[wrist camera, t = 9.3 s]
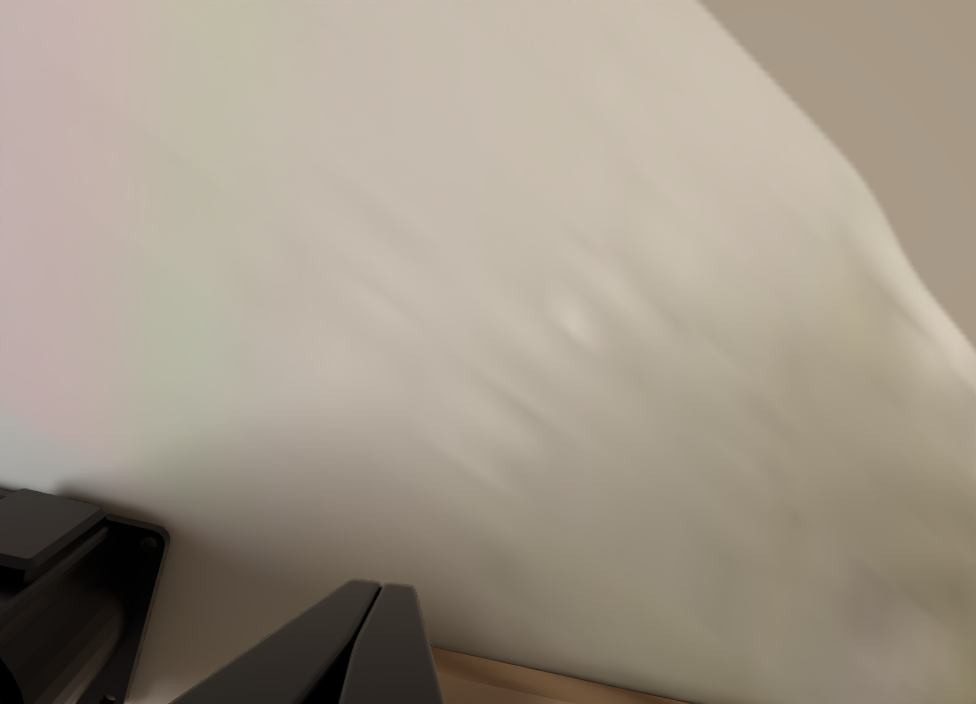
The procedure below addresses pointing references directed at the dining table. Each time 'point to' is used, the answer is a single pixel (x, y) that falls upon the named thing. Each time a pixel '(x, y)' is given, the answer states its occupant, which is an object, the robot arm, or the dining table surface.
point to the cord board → (522, 684)
